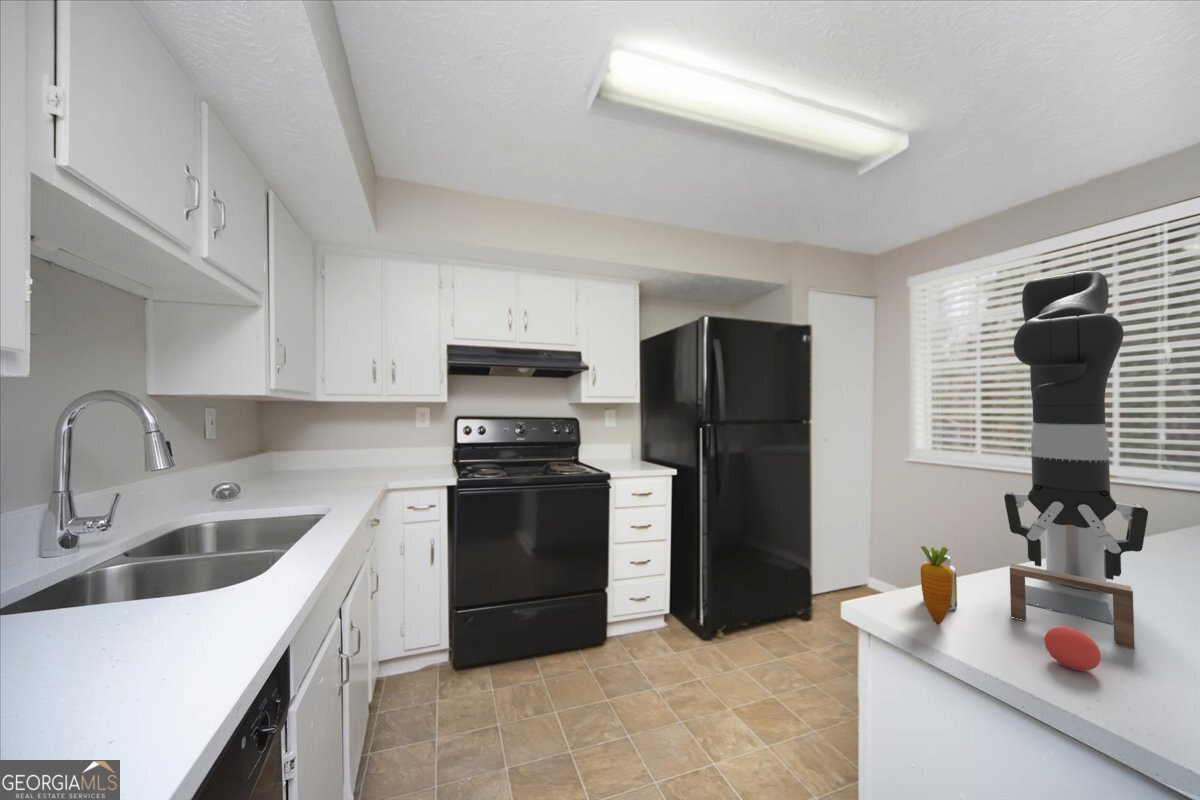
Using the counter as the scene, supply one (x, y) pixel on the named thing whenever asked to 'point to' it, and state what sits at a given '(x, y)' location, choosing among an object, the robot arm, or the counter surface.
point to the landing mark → (1069, 604)
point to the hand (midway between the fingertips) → (1071, 570)
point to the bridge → (1121, 593)
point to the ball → (1072, 648)
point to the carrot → (936, 584)
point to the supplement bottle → (954, 591)
